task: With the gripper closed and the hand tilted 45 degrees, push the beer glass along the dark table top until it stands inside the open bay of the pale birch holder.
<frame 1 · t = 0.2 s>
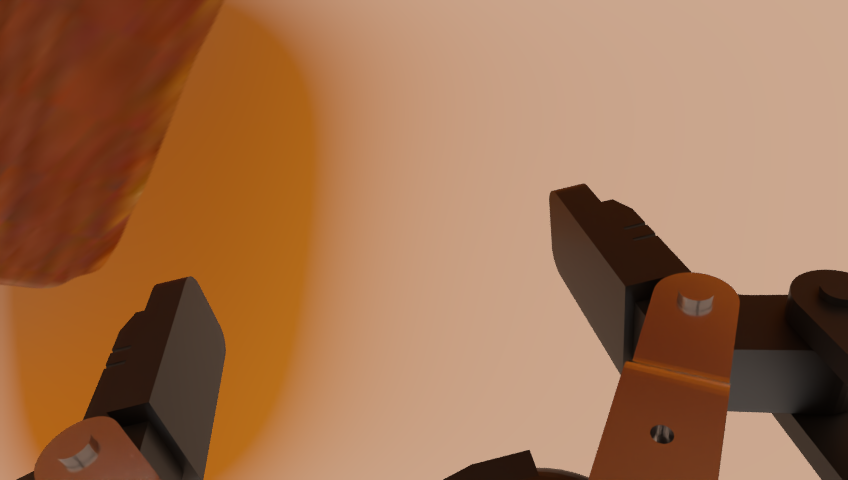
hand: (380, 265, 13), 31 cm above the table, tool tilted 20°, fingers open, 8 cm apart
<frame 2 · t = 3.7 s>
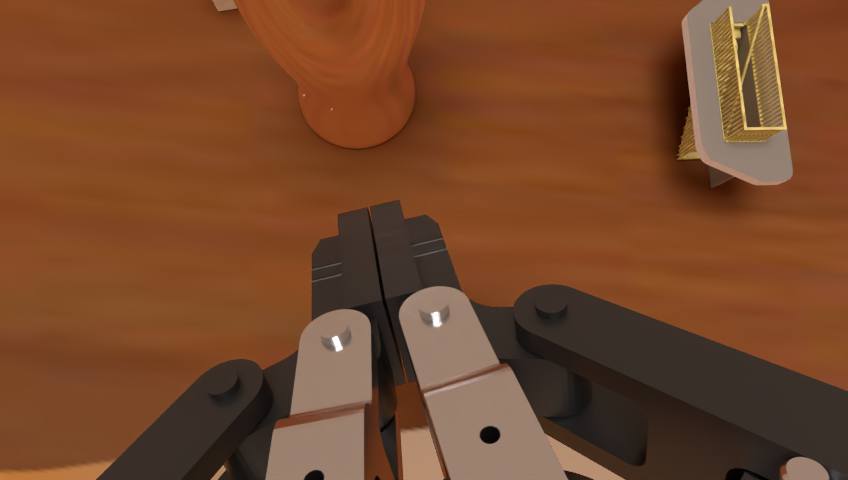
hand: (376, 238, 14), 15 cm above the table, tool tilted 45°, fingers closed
platform: (682, 119, 31), on the table
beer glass: (357, 96, 30), on the table
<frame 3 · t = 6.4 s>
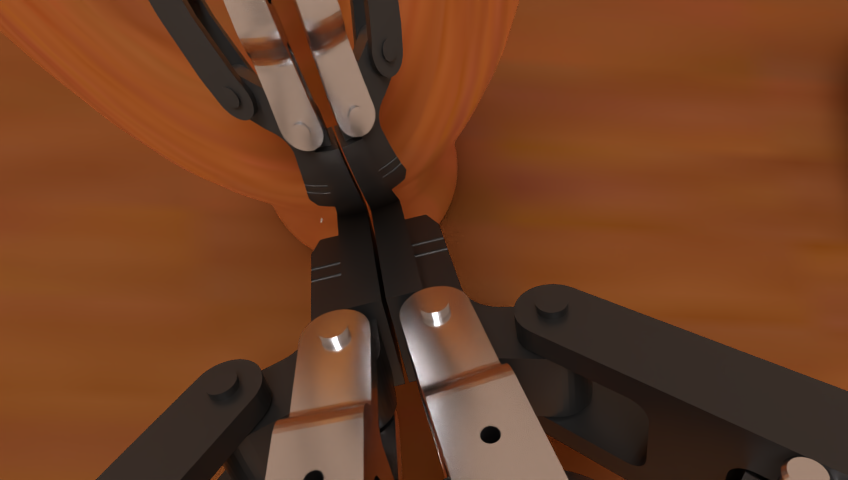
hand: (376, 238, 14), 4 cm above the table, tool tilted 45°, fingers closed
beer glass: (363, 172, 19), on the table, touching gripper
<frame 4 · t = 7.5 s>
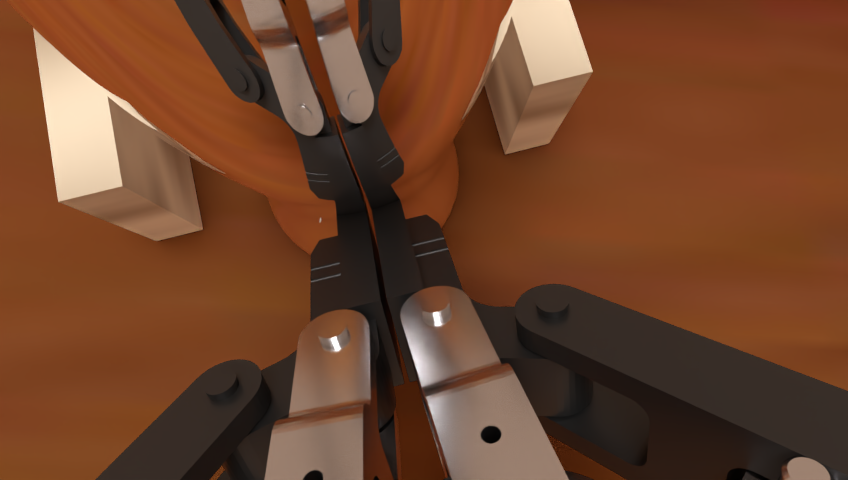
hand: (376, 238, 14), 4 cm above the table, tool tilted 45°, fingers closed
holder: (322, 53, 19), on the table
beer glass: (364, 179, 19), on the table, touching gripper
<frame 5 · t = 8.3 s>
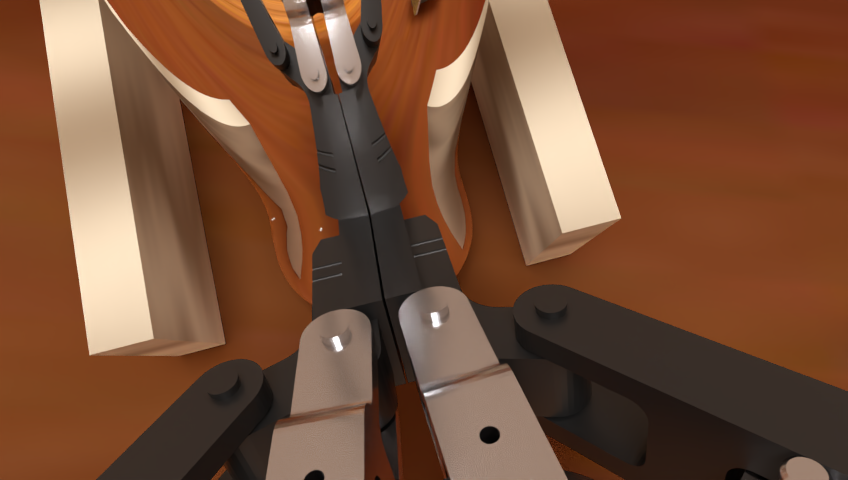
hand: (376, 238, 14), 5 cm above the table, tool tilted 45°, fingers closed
holder: (343, 161, 20), on the table
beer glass: (375, 236, 18), point 1 cm above the table, touching gripper
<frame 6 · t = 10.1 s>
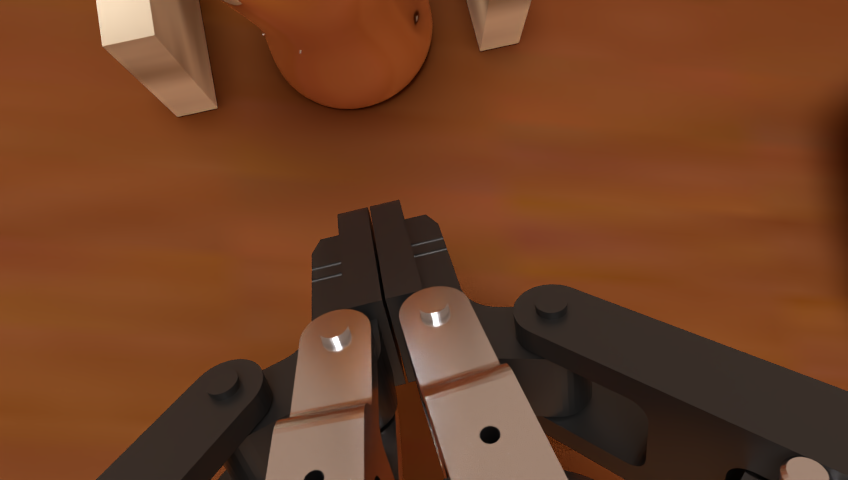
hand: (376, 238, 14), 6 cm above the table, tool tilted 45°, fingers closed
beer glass: (352, 33, 22), on the table
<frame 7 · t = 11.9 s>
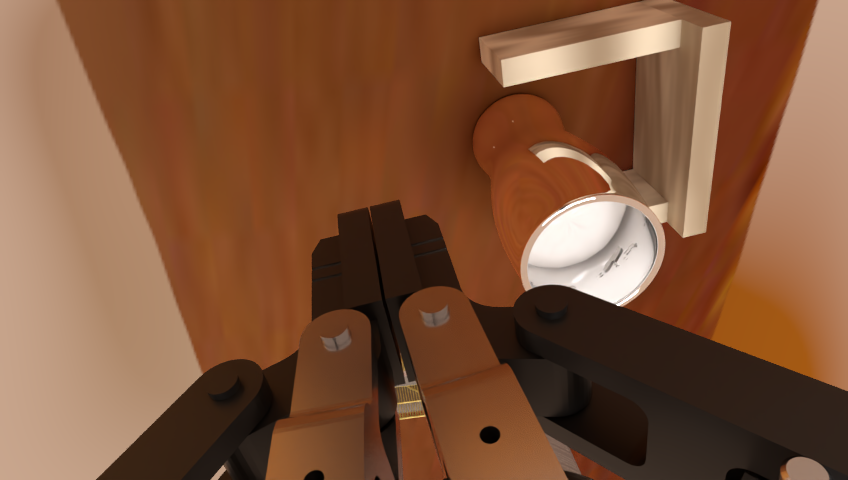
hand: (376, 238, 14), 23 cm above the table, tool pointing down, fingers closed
skincare box: (510, 438, 56), on the table
holder: (563, 119, 38), on the table
platform: (409, 345, 48), on the table
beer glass: (516, 137, 39), on the table
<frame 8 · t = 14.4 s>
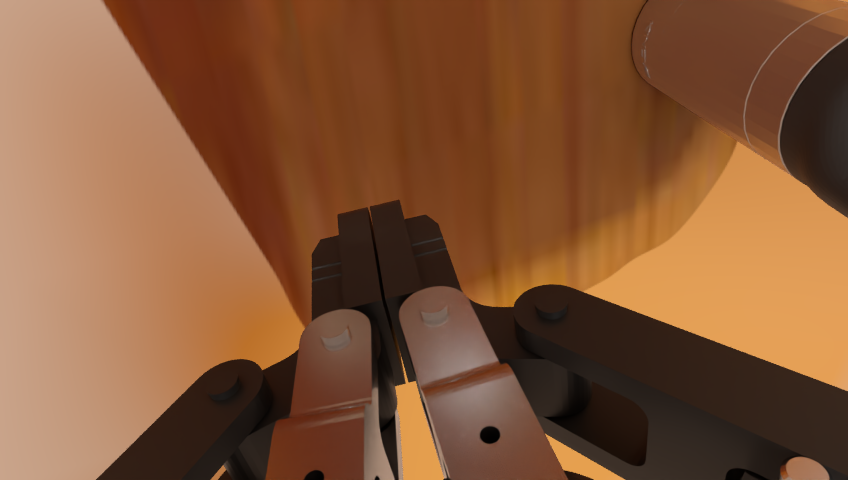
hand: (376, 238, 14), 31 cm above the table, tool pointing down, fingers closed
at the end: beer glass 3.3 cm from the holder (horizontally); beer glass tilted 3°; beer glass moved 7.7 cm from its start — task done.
